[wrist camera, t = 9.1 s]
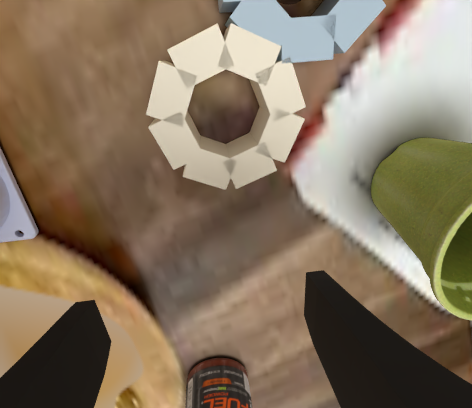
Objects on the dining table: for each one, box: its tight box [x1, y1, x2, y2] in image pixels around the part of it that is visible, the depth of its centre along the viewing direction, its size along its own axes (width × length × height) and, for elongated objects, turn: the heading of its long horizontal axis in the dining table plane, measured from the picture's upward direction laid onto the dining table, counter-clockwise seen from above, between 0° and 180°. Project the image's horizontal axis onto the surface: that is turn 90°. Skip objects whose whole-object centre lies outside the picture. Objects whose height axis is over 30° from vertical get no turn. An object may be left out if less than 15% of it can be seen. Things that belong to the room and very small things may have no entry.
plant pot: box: [371, 138, 472, 320], centre depth 17 cm, size 9×9×9 cm
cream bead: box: [146, 23, 306, 190], centre depth 16 cm, size 8×8×3 cm
